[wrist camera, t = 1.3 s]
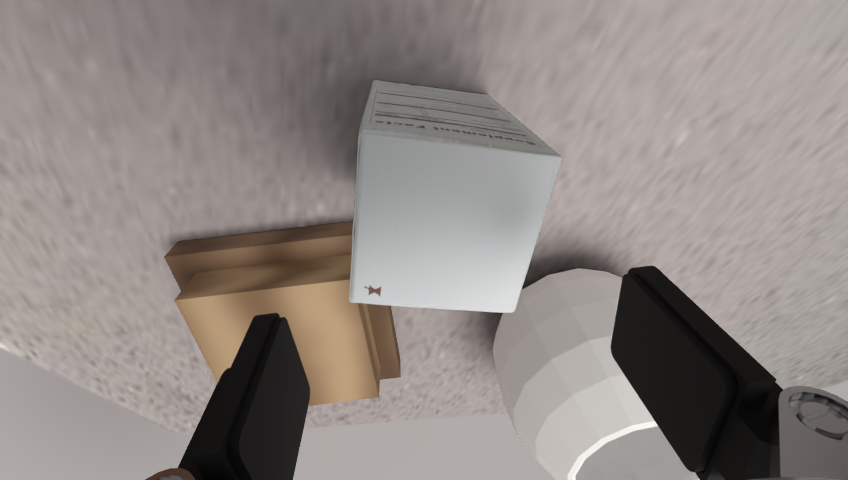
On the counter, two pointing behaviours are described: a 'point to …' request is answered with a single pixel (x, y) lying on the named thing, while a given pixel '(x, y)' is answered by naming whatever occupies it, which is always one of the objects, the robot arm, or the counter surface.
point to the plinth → (288, 305)
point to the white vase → (577, 384)
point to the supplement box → (445, 200)
